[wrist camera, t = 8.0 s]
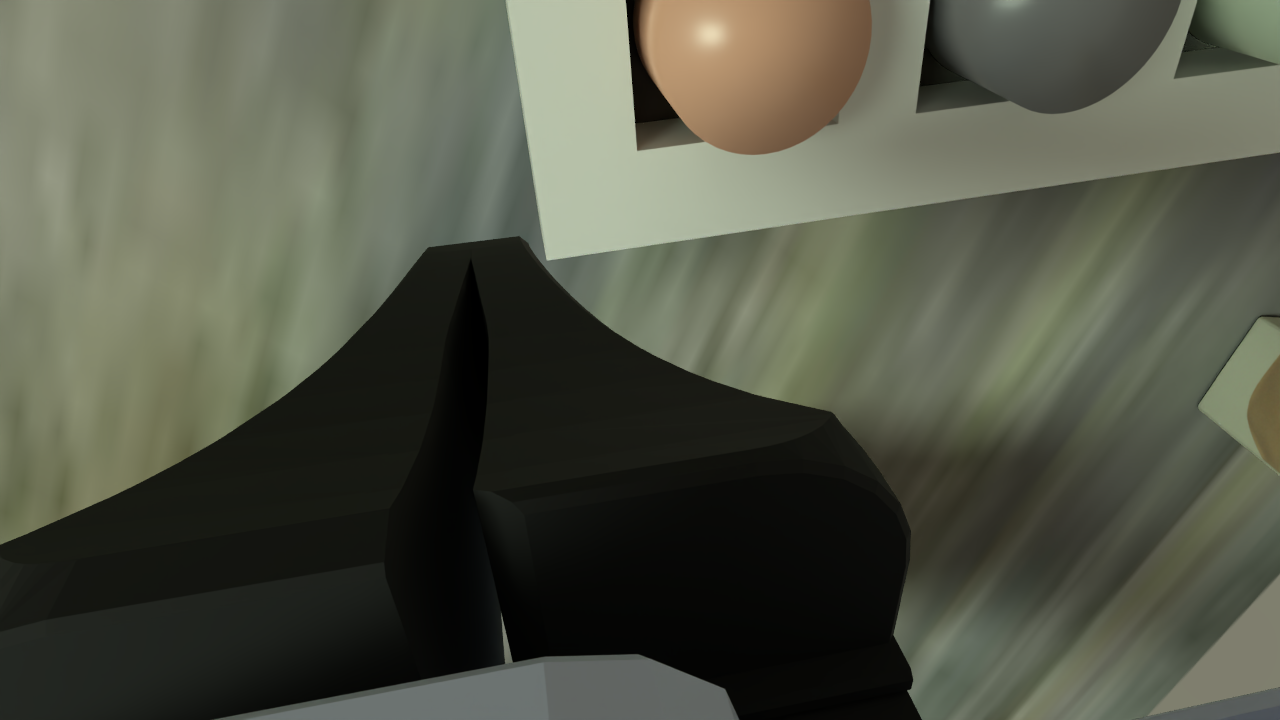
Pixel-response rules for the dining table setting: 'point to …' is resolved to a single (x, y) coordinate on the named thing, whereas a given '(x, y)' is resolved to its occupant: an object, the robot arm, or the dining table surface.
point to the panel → (850, 134)
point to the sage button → (1240, 26)
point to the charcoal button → (1048, 46)
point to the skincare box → (1251, 393)
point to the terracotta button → (754, 65)
